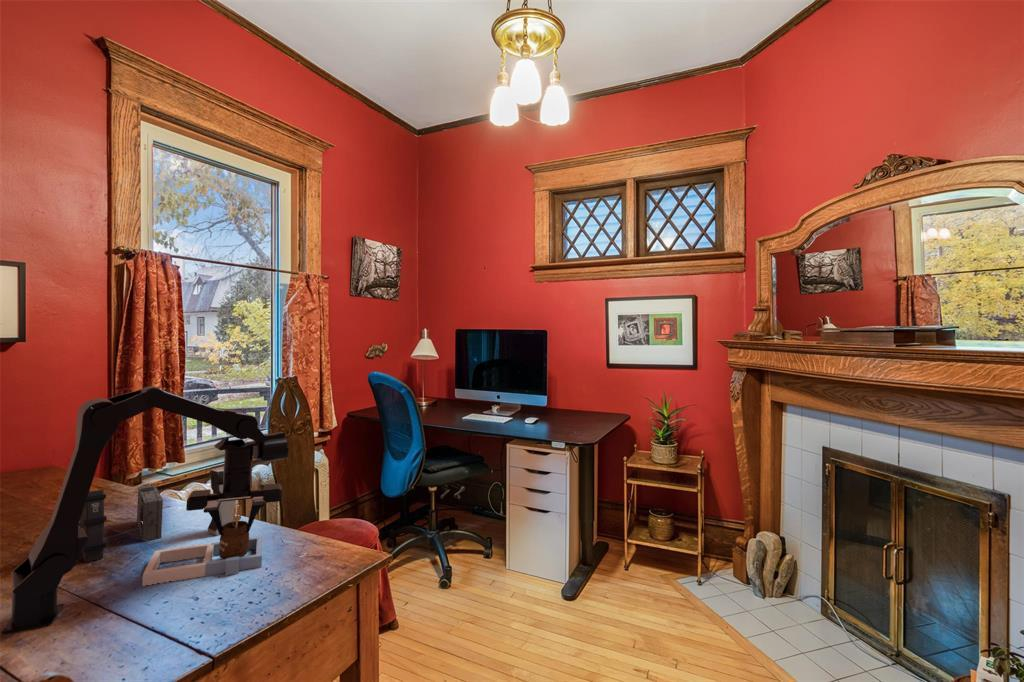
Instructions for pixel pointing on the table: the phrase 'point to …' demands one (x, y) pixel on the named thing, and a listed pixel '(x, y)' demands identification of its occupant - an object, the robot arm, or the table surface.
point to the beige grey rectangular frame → (199, 569)
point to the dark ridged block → (93, 526)
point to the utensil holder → (234, 537)
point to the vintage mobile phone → (224, 505)
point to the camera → (149, 512)
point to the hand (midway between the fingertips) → (234, 532)
